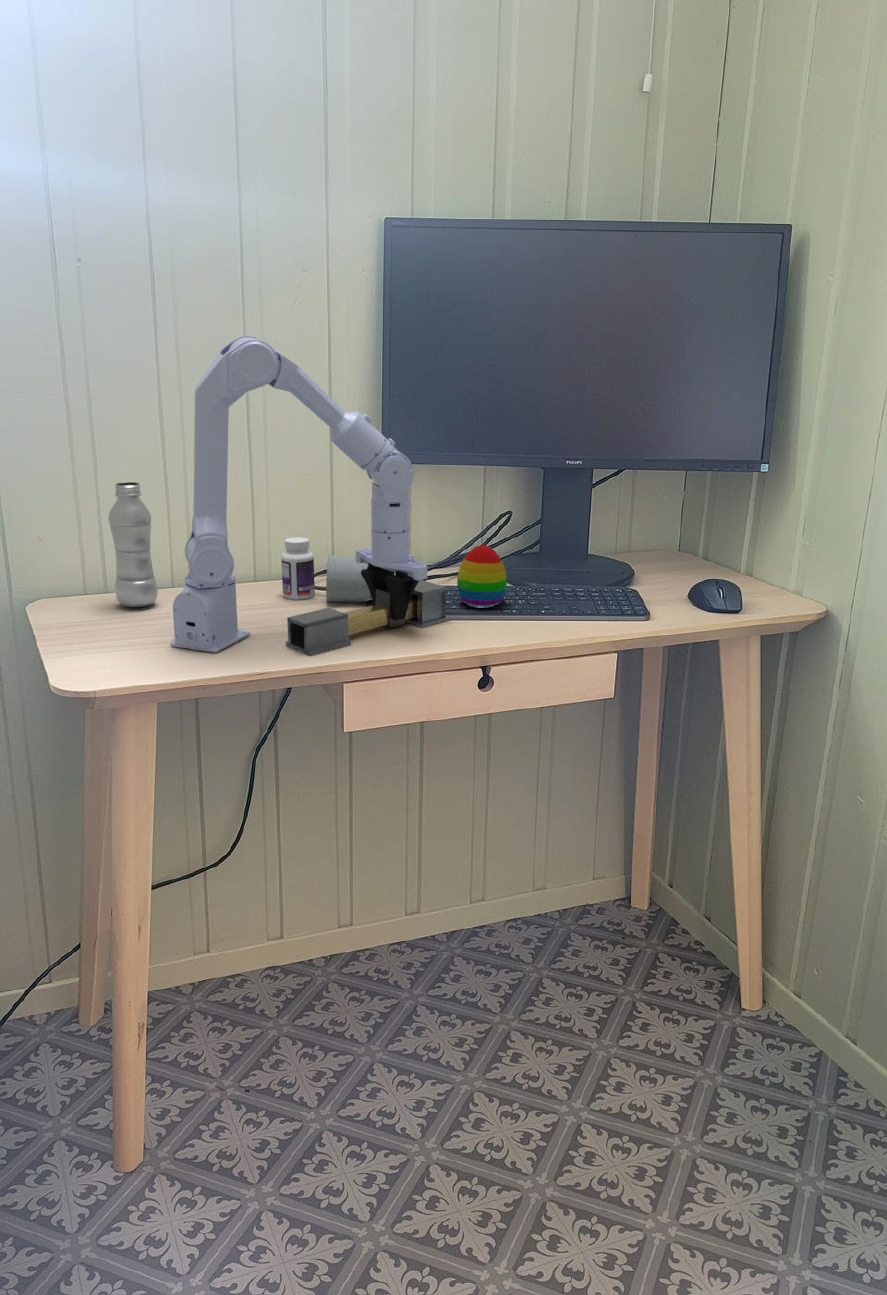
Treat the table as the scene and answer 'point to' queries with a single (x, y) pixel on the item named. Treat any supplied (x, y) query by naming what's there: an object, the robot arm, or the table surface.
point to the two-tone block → (378, 613)
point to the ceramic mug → (346, 580)
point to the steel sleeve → (318, 631)
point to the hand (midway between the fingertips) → (390, 615)
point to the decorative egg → (482, 577)
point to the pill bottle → (297, 569)
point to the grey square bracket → (429, 604)
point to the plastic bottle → (132, 547)
